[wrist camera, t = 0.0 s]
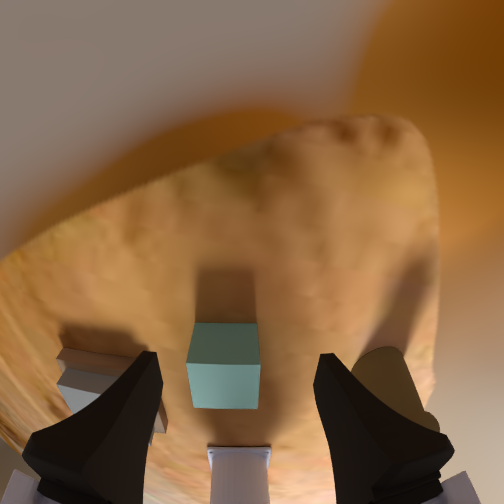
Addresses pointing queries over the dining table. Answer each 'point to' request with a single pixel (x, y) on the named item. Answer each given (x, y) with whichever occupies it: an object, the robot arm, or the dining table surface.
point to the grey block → (84, 388)
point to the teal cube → (224, 365)
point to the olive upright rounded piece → (393, 384)
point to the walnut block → (105, 372)
